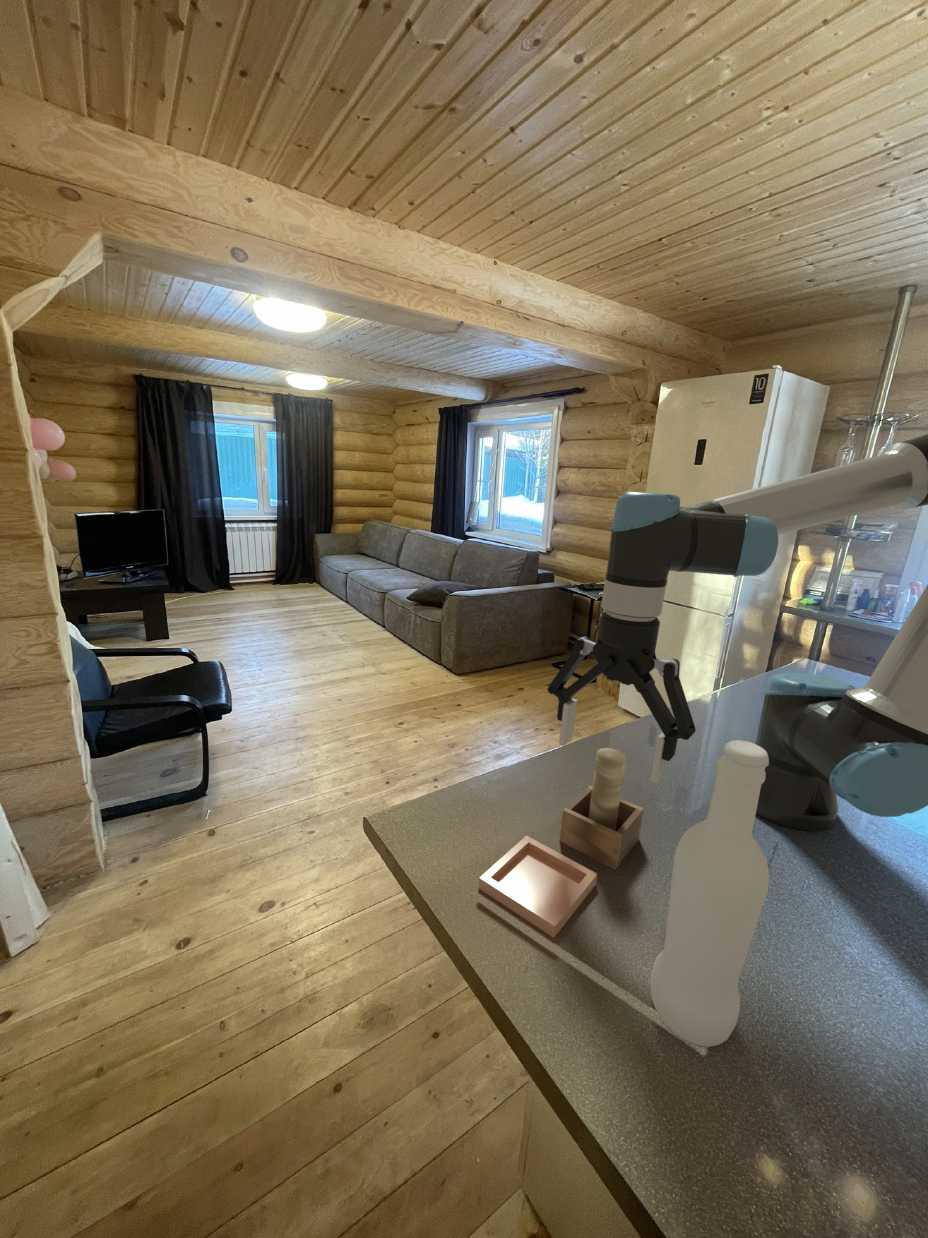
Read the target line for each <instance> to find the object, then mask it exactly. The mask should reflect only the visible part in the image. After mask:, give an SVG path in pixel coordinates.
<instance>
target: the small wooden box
mask: <svg viewBox="0 0 928 1238" xmlns="http://www.w3.org/2000/svg"><path fill="white" fill-rule="evenodd" d="M592 786H593V785H589V786H587V788H585V789H584V790H583V791H582V792H581V793H580V794H579V795H578V796H576V797H575V798H574V799H573V800H572V801H571V802H570V803H569V804H568V805H567V806H566V807H565V808H564V809H562V816H561V827H560V833H559V834H560V835H559V842H560V843H562V844H564V845H566V846H569V847H571V848H572V849H574V850H576V851H578V852H579V853H581V854H583V855H585V856H587V857H588V858H591V859H593V860H595V861H596V862H599V863H601V864H602V865H604V866H606V867H608V868H611V870H614V871H616V870H617V869H618V867H619V866H620V865H621V863H622V862H623V861H624V859H625V858H626V857H627V855H628V854H629V853H630V852H631V850H632V849H633V848H634V846H635V845H636V844H637V842H638V841H639V839H640V834H641V829H642V824H643V823H642V822H643V816H644V811H645V809H644V808H643V807H641V806H639V805H636V804H634V803H631V802H630V801H628V800H625V799H623V798H621V797H620V803H619V810H618V817H617V824H616V830H615V831H614V830H612V829H610V828H608V827H606V826H603V825H601V824H599V823H597V822H595V821H593V820H591V819H589V818H588V816H589V809H590V801H591V793H592Z"/></svg>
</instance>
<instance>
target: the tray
mask: <svg viewBox="0 0 928 1238" xmlns="http://www.w3.org/2000/svg"><path fill="white" fill-rule="evenodd" d="M597 880H598V873H597V872H595V871H593V870H591V869H589V868H587V867H585V866H584V865H582V864H580V863H579V862H576V861H574V860H573V859H571V858H569V857H567V856H565V855H563V854H561V853H560V852H558V851H557V850H554V849H552V848H550V847H549V846H547V845H545V844H543V843H541V842H539V841H538V840H536V839H534V838H532V837H530V836H529V835H525V836H524V837H523V838H522V839H521V840H519V841H518V843H516V845H514V846H513V847H512V848H510V849H509V850H508V851H507V852H506V853H505V854H504V855H502V857H501V858H499V859H498V860H497V861H496V862H495V863H494V864H493V865H492V866H491V867H489V869H487V870H486V871H485V872H484V873H483V874H482V875H481V876H479V878H478V890H480V891H482V892H483V893H485V894H487V896H490V897H491V898H493V899H494V900H495V901H497V902H499V903H500V904H501V905H503V906H505V907H506V908H508V909H509V910H511V911H512V912H513V913H515V914H517V915H518V916H520V917H521V918H522V919H524V920H526V921H527V922H529V923H530V924H532V925H534V926H535V927H536V928H537V929H540V930H541V931H543V932H544V933H545V934H547V935H549V936H550V937H552V938H555V937H557V934H558V933H559V932H560V931H561V929H562V928H563V927H564V926H565V925H566V923H567V922H568V921H569V920H570V918H571V917H572V915H574V913H575V912H576V911H577V909H578V908H579V907H580V906H581V904H582V903H583V901H584V900H585V899H586V898H587V897H588V895H589V894H590V893H591V892H592V890H593V889H594V888H595V886H597ZM477 893H478V894H479V895H480V896H482V897H483V898H485V899H487V901H489V902H491V903H492V904H494V905H496V906H497V907H498V908H499V909H501V910H503V911H505V912H506V913H508V914H509V915H510V916H511V917H513V918H514V919H516V920H517V921H519V922H521V923H522V924H524V925H525V926H527V927H528V928H530V929H531V930H532V931H534V932H536V933H537V934H539V935H540V936H542V937H543V938H545V939H546V940H547V941H549V942H550V943H552V944H554V943H555V942H554V941H553V940H551V939H550V938H548V937H546V935H544V934H542V933H540V932H539V931H538V930H536V929H535V928H533V927H532V926H530V925H528V924H527V923H525V922H524V921H523V920H521V919H519V918H518V917H517V916H515V915H514V914H512V913H511V912H509V911H507V909H504V908H503V907H502V906H500V905H498V904H497V903H496V902H494V901H492V900H491V899H490V898H488V897H487V896H485V895H484V894H482V893H480V892H479V891H478V892H477Z"/></svg>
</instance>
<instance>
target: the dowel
mask: <svg viewBox="0 0 928 1238" xmlns="http://www.w3.org/2000/svg"><path fill="white" fill-rule="evenodd" d="M626 762H627V756H626V754H625V753H623V751H620V750H618V749H616V748H611V747H604V748H603V747H602V748H599V749H598V750H597V751H596V756H595V763H594V772H593V780H592V785H591V786H592V793H591V801H590V809H589V816H588V818H589V819H591V820H593V821H595V822H597V823H599V824H601V825H603V826H606V827H608V828H610V829H612V830H614V831H615V830H616V824H617V817H618V810H619V803H620V798H621V796H622V789H623V782H624V775H625V769H626Z"/></svg>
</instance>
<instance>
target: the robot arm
mask: <svg viewBox="0 0 928 1238" xmlns="http://www.w3.org/2000/svg"><path fill="white" fill-rule="evenodd" d="M922 506H928V433H925V434H923V435H919V436H917V437H913V438H911V439H907V440H904V441H900V442H896V443H893V444H891V445H887V447H886V448H885V449H883V450H882V452H881V453H880V454H879V455H875V456H871V457H868V458H865V459H860V460H857V461H853V462H849V463H846V464H842V465H838V466H834V467H830V468H827V469H822V470H819V471H816V472H812V473H807V474H804V475H801V476H797V477H793V478H789V479H786V480H782V481H779V482H775V483H770V484H766V485H763V486H759V487H756V488H751V489H748V490H744V491H741V492H737V493H734V494H730V495H726V496H722V497H719V498H715V499H712V500H709V501H704V502H700V503H697V504H693V505H689V506H685V507H684V506H681V498H680V497H679V495H677V494H672V493H670V494H669V493H658V492H657V493H655V492H642V491H641V492H638V491H626V492H622V494H620V496H618V498H617V500H616V504H615V508H614V513H613V519H612V523H611V526H610V542H609V550H608V557H607V564H606V565H607V568H606V573H605V574H606V575H605V579H604V586H603V590H602V591H603V592H602V598H601V604H600V607H601V608H602V610H603V611H602V612H601V613H600V614H599V622H598V629H597V640H596V642H594V641H592V640H591V639H590V638H589V636H586V635H585V636H582V637H580V638H577V639H575V640H574V641H573V646H572V651H571V653H570V655H569V657H567V660H566V661H565V662H564V664H563V665H562V667H561V668H560V669H559V671H558V672H557V674H556V675H555V676H554V678H553V679H552V681H551V682H550V683H549V685H548V687H547V692H548V694H550V695H554V696H555V697H556V698H557V699H558V705H557V712H556V713H557V714H556V718H557V721H560V722H561V724H560V733H559V739H558V745H560V746H562V747H564V746H565V745H567V744H568V743H569V742H571V741H572V740H573V735H574V728H575V727H574V726H575V720H576V713H577V712H576V711H577V704H578V699H575V698H572V697H574V696H575V695H576V694H577V693H579V692H580V691H582V690H583V689H584V688H585V687H587V686H588V685H589V684H591V683H592V682H593V681H595V680H596V679H597V678H599V676H601V675H603V676H604V677H606V680H609V681H617V682H619V683H621V684H623V685H626V686H630V685H633V686H634V689H635V690H636V691H637V692H638V693H639V694H640V695H641V697H642V698H643V700H644V702H645V703H646V706H647V707H648V708H649V711H650V712H651V714H652V716H653V717H654V720H655V721H656V723H657V725H658V726H659V728H660V729H661V733H660V734H659V735H658V736H657V739H656V746H655V750H654V751H655V752H654V757H653V762H652V767H651V774H650V779H649V782H650V783H653V784H655V785H656V784H657V783H658V782H659V781H660V779H661V778H662V777H663V774H664V771H665V765H666V761H667V762H670V761H671V760H672V759H673V757H674V756H675V755H676V750H677V749H676V748H677V744H678V740H679V739H681V740H684V741H687V740H689V739H690V738H692V736H693V735H694V734H695V733H696V726H695V724H694V720H693V715H692V714H691V710H690V707H689V704H688V701H687V698H686V694H685V692H684V688H683V686H682V685H683V684H682V682H681V679H680V663H681V662H680V661H679V660H678V659H677V658H672V659H671V660H668V659H660V658H657V655H656V648H657V642H658V637H659V631H660V625H661V621H660V620H659V619H658V617H660V616H661V615H662V611H663V606H664V600H665V594H666V589H667V585H668V577H669V574H670V572H678V573H680V572H684V573H685V572H686V573H695V574H696V573H698V574H699V573H700V574H711V575H712V574H713V575H722V576H732V577H734V578H737V577H740V576H741V577H743V576H744V577H745V576H747V577H755V576H756V577H757V576H759V575H762V574H764V573H765V572H766V571H767V570H769V568H771V566H772V565H773V563H774V560H776V555H777V552H778V546H779V536H780V535H781V536H782V535H783V534H788V533H792V532H796V531H800V530H804V529H807V528H812V527H816V526H818V525H819V526H820V525H823V524H827V523H832V522H834V521H839V520H842V519H846V518H851V517H853V516H858V515H863V514H866V513H870V512H874V511H878V510H882V509H885V508H890V507H892V508H893V509H897V510H900V511H901V510H903V511H905V510H910V509H915V508H918V507H922ZM591 652H592V653H593V654H592V655H593V656H594V658H595V660H596V663H597V664H596V665H594V666H593V667H591V668H590V669H589V670H588V671H586V672H585V673H584V674H582V676H581V677H579V678H578V679H576V680H575V682H573V683H572V684H571V685H569V686H568V687H567V688H566V687H565V685H566V684H567V682H568V681H569V680H570V678H571V677H572V676H573V674H574V673H575V671H576V669H577V668H578V667H579V666H580V664H581V663H582V661H583V660H584V659H585V657H586V656H587V655H589V654H591ZM654 669H656V670H657V672H658V674H659V676H660V677H662V680H663V686H664V689H665V693H666V695H667V698H668V702H669V705H670V708H671V710H670V708H669V707H668V704H667V703H666V701H665V700H664V698H663V696H662V694H661V693H660V691H659V690H658V688H657V686H656V681H655V680H654V677H653V676H652V674H651V672H652V671H653V670H654ZM671 711H672V712H671ZM755 737H756V738H755V742H754V744H756V745H758V746H760V747H761V748H763V749H764V750H765V751H766V752H767V754H768V757H769V765H768V766H767V767H765V773H766V776H765V781H764V782H763V783H762V784H761V789H760V794H759V799H758V805H757V810H756V815H758V816H760V817H762V818H764V819H766V820H767V821H771V822H773V823H776V824H778V825H781V826H784V827H787V828H792V829H796V830H801V831H802V830H803V831H823V830H824V831H825V830H829V829H830V828H832V826H834V825H835V823H836V820H837V817H838V811H839V804H838V798H837V796H838V797H839V798H840V799H842V800H845V801H846V802H847V803H849V804H850V805H851V806H853V807H854V808H856V809H857V810H859V811H860V812H863V813H865V814H868V815H870V816H876V817H882V818H894V817H895V818H896V817H901V816H904V815H905V814H913V813H916V812H919V811H920V810H923V809H924V808H926V807H928V584H927V585H926V586H925V588H924V590H923V591H922V593H921V594H920V596H919V597H918V600H917V601H916V602H915V604H914V605H913V608H912V609H911V611H910V612H909V614H908V615H907V617H906V619H905V621H904V623H903V624H902V625H901V628H900V629H899V631H898V632H897V633H896V635H895V636H894V639H893V640H892V642H891V643H890V645H889V647H888V648H887V649H886V652H884V655H883V656H882V658H881V659H880V661H879V662H878V664H877V666H876V667H875V669H874V671H873V673H872V674H871V675H870V677H869V679H868V680H867V682H866V684H865V685H863V686H860V687H857V688H856V687H854V685H853V684H851V683H849V682H847V681H844V680H840V679H837V678H832V677H829V676H822V675H817V674H813V673H812V674H810V673H809V674H808V673H802V672H800V673H799V672H781V673H777V674H774V675H772V676H771V677H770V679H769V681H768V683H767V687H766V689H765V692H764V700H763V705H762V709H761V713H760V719H759V723H758V727H757V732H756V736H755Z"/></svg>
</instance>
